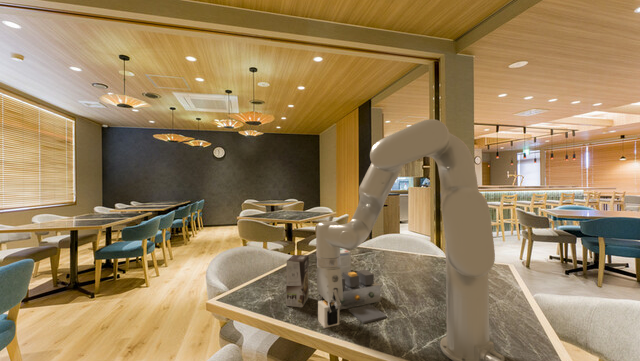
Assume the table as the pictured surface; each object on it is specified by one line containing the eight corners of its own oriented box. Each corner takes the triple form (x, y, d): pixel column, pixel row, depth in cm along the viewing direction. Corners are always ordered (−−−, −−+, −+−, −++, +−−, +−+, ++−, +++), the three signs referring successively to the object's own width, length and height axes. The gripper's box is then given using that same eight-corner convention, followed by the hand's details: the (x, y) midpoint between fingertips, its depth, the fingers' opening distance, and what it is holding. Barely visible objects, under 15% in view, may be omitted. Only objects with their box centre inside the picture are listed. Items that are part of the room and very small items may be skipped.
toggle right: (373, 284, 98) (373, 274, 98) (365, 285, 97) (365, 275, 97) (364, 278, 104) (364, 269, 104) (356, 280, 102) (356, 270, 103)
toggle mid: (359, 285, 96) (359, 273, 97) (350, 287, 95) (350, 275, 95) (350, 280, 102) (350, 268, 102) (342, 281, 101) (342, 270, 101)
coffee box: (303, 307, 93) (303, 261, 93) (285, 306, 94) (285, 260, 95) (309, 297, 102) (309, 254, 102) (293, 295, 103) (293, 254, 104)
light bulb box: (329, 269, 135) (329, 248, 136) (340, 267, 138) (340, 246, 139) (339, 276, 126) (339, 253, 126) (351, 274, 129) (351, 251, 129)
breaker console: (381, 301, 98) (381, 285, 98) (332, 312, 90) (332, 294, 90) (368, 293, 106) (368, 277, 106) (322, 301, 98) (322, 285, 98)
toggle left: (345, 289, 94) (345, 278, 94) (336, 290, 92) (336, 280, 92) (337, 283, 99) (337, 273, 99) (328, 284, 98) (328, 274, 98)
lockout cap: (339, 324, 82) (339, 302, 82) (324, 327, 80) (324, 305, 80) (332, 317, 86) (332, 296, 87) (318, 320, 85) (318, 299, 85)
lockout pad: (386, 317, 86) (386, 315, 86) (363, 323, 82) (363, 321, 82) (371, 306, 94) (370, 304, 94) (348, 310, 91) (348, 309, 91)
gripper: (352, 267, 77) (352, 330, 77) (327, 253, 93) (327, 306, 93) (329, 270, 74) (329, 336, 74) (307, 255, 90) (307, 310, 90)
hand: (328, 319), depth 83 cm, fingers closed on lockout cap, 4 cm apart
